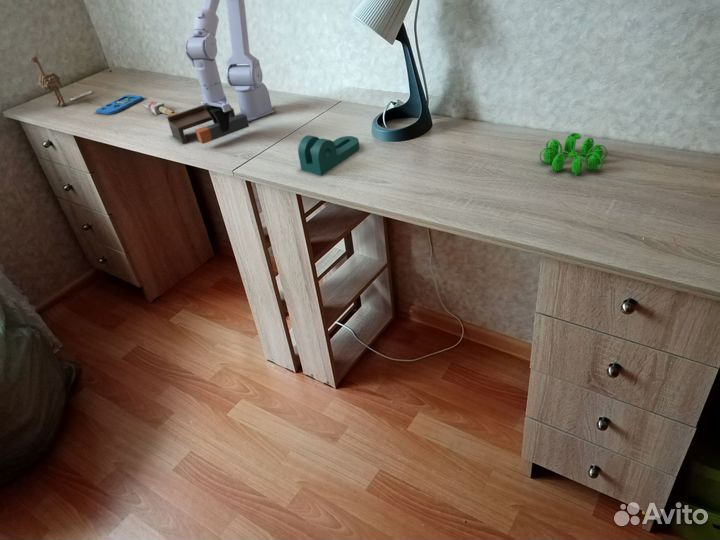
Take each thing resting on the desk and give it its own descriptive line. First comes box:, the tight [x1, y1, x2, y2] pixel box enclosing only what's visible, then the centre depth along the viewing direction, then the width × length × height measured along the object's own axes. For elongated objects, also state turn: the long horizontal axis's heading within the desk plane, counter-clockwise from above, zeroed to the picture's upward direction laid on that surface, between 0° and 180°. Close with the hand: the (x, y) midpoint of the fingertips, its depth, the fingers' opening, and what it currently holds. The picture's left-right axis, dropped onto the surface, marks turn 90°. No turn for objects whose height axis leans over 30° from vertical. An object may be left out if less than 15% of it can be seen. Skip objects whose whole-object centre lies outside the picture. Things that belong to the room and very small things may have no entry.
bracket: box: [297, 134, 360, 177], centre depth 144 cm, size 18×7×8 cm, turn 143°
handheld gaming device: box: [95, 94, 144, 115], centre depth 196 cm, size 8×1×15 cm
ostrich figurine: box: [29, 55, 93, 108], centre depth 201 cm, size 17×7×18 cm, turn 144°
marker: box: [195, 114, 250, 145], centre depth 160 cm, size 15×3×4 cm, turn 127°
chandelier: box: [539, 132, 609, 176], centre depth 129 cm, size 15×15×7 cm
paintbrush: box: [141, 101, 178, 116], centre depth 186 cm, size 4×3×20 cm
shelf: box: [166, 104, 236, 144], centre depth 169 cm, size 18×8×6 cm, turn 127°
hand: (223, 129), depth 160 cm, fingers closed on marker, 2 cm apart
